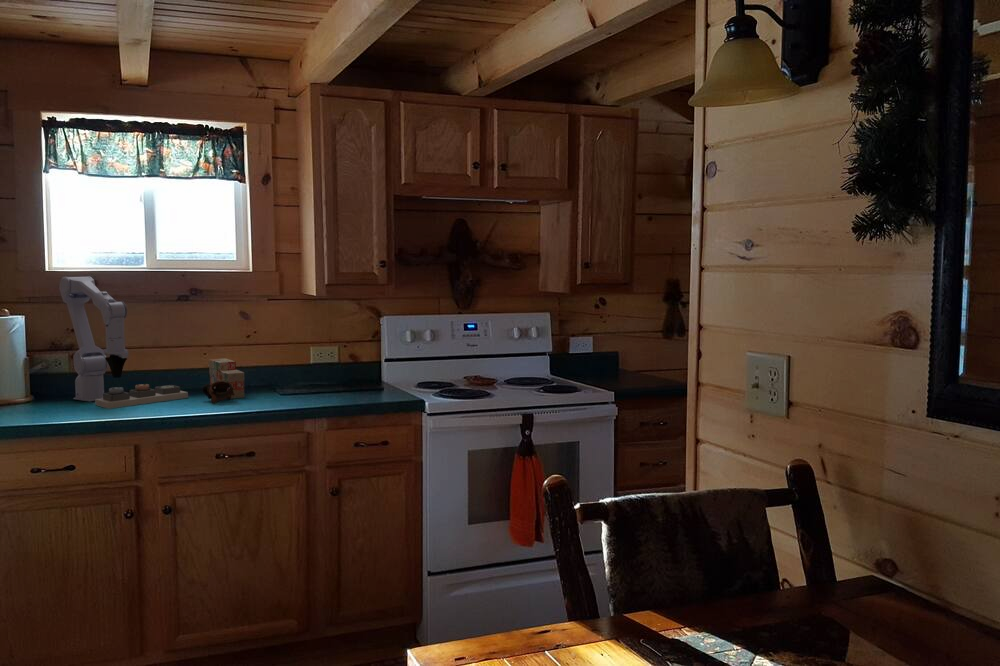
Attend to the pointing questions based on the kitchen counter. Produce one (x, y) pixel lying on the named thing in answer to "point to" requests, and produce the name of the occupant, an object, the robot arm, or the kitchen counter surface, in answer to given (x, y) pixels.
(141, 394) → the button panel
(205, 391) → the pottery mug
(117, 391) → the two pip button
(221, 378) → the stack of blocks
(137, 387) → the three pip button
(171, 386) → the one pip button
